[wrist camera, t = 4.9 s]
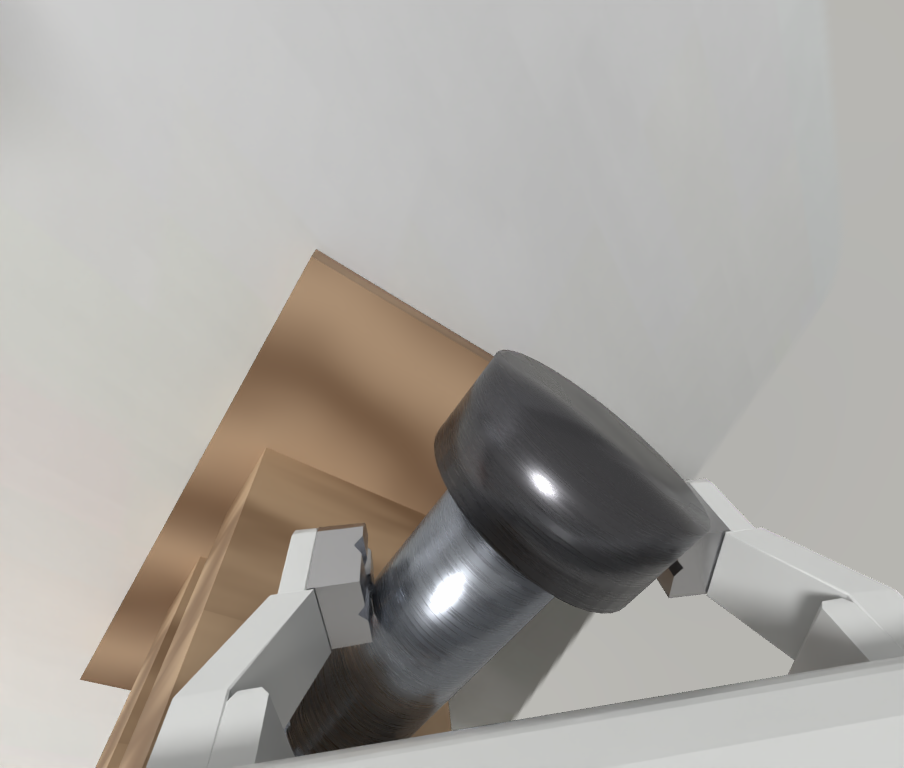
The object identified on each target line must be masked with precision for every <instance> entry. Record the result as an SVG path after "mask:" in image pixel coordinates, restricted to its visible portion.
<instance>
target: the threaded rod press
mask: <svg viewBox="0 0 904 768" xmlns="http://www.w3.org/2000/svg"><path fill="white" fill-rule="evenodd" d="M493 357H494V356H492V355H491V354H489V353H487V352H486V351H484V350H482V349H481V348H479V347H477V346H476V345H474V344H472V343H471V342H469V341H467V340H466V339H464V338H462V337H461V336H459V335H457V334H456V333H454V332H453V331H451V330H449V329H448V328H446V327H444V326H443V325H441V324H439V323H438V322H436V321H434V320H433V319H431V318H429V317H428V316H426V315H424V314H423V313H421V312H419V311H418V310H416V309H414V308H413V307H411V306H409V305H408V304H406V303H404V302H403V301H401V300H399V299H398V298H396V297H394V296H393V295H391V294H389V293H388V292H386V291H385V290H383V289H381V288H380V287H378V286H376V285H375V284H373V283H371V282H370V281H368V280H366V279H365V278H363V277H361V276H360V275H358V274H356V273H355V272H353V271H351V270H350V269H348V268H346V267H345V266H343V265H341V264H340V263H338V262H336V261H335V260H333V259H331V258H330V257H328V256H326V255H325V254H323V253H321V252H320V251H318V250H315V252H314V253H313V255H312V257H311V258H310V260H309V262H308V264H307V266H306V268H305V269H304V271H303V273H302V275H301V277H300V279H299V280H298V282H297V284H296V286H295V288H294V290H293V291H292V293H291V295H290V297H289V299H288V300H287V302H286V304H285V306H284V308H283V310H282V311H281V313H280V315H279V317H278V319H277V321H276V322H275V324H274V326H273V328H272V330H271V332H270V333H269V335H268V337H267V339H266V341H265V342H264V344H263V346H262V348H261V350H260V352H259V353H258V355H257V357H256V359H255V361H254V363H253V364H252V366H251V368H250V370H249V372H248V374H247V375H246V377H245V379H244V381H243V383H242V385H241V386H240V388H239V390H238V392H237V394H236V395H235V397H234V399H233V401H232V403H231V405H230V406H229V408H228V410H227V412H226V414H225V416H224V417H223V419H222V421H221V423H220V425H219V427H218V428H217V430H216V432H215V434H214V436H213V437H212V439H211V441H210V443H209V445H208V447H207V448H206V450H205V452H204V454H203V456H202V458H201V459H200V461H199V463H198V465H197V467H196V469H195V470H194V472H193V474H192V476H191V478H190V479H189V481H188V483H187V485H186V487H185V489H184V490H183V492H182V494H181V496H180V498H179V500H178V501H177V503H176V505H175V507H174V509H173V511H172V512H171V514H170V516H169V518H168V520H167V522H166V523H165V525H164V527H163V529H162V531H161V532H160V534H159V536H158V538H157V540H156V542H155V543H154V545H153V547H152V549H151V551H150V553H149V554H148V556H147V558H146V560H145V562H144V564H143V565H142V567H141V569H140V571H139V573H138V574H137V576H136V578H135V580H134V582H133V584H132V585H131V587H130V589H129V591H128V593H127V595H126V596H125V598H124V600H123V602H122V604H121V606H120V607H119V609H118V611H117V613H116V615H115V616H114V618H113V620H112V622H111V624H110V626H109V627H108V629H107V631H106V633H105V635H104V637H103V638H102V640H101V642H100V644H99V646H98V648H97V649H96V651H95V653H94V655H93V657H92V659H91V660H90V662H89V664H88V666H87V668H86V669H85V671H84V673H83V675H82V677H81V679H80V680H84V681H89V682H94V683H99V684H103V685H108V686H113V687H118V688H122V689H127V690H131V692H130V694H129V696H128V698H127V700H126V703H125V705H124V707H123V709H122V711H121V713H120V716H119V718H118V720H117V722H116V724H115V726H114V729H113V731H112V733H111V735H110V737H109V739H108V742H107V744H106V746H105V748H104V750H103V752H102V755H101V757H100V759H99V761H98V763H97V765H96V768H146V766H147V763H148V761H149V758H150V756H151V753H152V750H153V748H154V745H155V743H156V740H157V737H158V735H159V732H160V730H161V727H162V725H163V722H164V719H165V717H166V714H167V712H168V709H169V706H170V704H171V701H172V699H173V697H174V696H175V695H176V694H177V693H178V692H179V691H180V690H181V689H182V688H183V687H184V686H185V685H186V684H187V683H188V682H189V680H190V679H191V678H192V677H193V676H194V675H195V674H196V673H197V672H198V671H199V670H200V669H201V668H202V667H203V666H204V665H205V664H206V662H207V661H208V660H209V659H210V658H211V657H212V656H213V655H214V654H215V653H216V652H217V651H218V650H219V649H220V648H221V647H222V646H223V645H224V643H225V642H226V641H227V640H228V639H229V638H230V637H231V636H232V635H233V634H234V633H235V632H236V631H237V630H238V629H239V628H240V627H241V625H242V624H243V623H244V622H245V621H246V620H247V619H248V618H249V617H250V616H251V615H252V614H253V613H254V612H255V611H256V610H257V609H258V607H259V606H260V605H261V604H262V603H263V602H264V601H265V600H266V599H267V598H268V597H269V596H270V595H274V594H278V590H279V586H280V582H281V577H282V573H283V569H284V565H285V561H286V557H287V553H288V549H289V545H290V540H291V536H292V535H293V533H294V532H295V530H302V529H312V528H319V527H326V526H336V525H345V524H355V523H365V524H366V527H367V532H368V548H369V549H370V550H371V553H372V558H373V567H374V579H375V578H376V577H377V575H378V574H379V573H380V572H381V571H382V569H383V568H384V567H385V566H386V564H387V563H388V562H389V561H390V559H391V558H392V557H393V556H394V554H395V553H396V552H397V551H398V550H399V548H400V547H401V546H402V545H403V543H404V542H405V541H406V540H407V538H408V537H409V536H410V535H411V533H412V532H413V531H414V530H415V528H416V527H417V526H418V525H419V524H420V522H421V521H422V520H423V519H424V517H425V516H426V515H427V514H428V512H429V511H430V510H431V509H432V507H433V506H434V505H435V504H436V503H437V501H438V500H439V499H440V498H441V496H442V495H443V494H444V493H445V491H446V490H447V488H446V486H445V484H444V482H443V480H442V478H441V475H440V472H439V470H438V467H437V464H436V459H435V455H434V440H435V436H436V434H437V432H438V430H439V429H440V427H441V426H442V425H443V423H444V422H445V421H446V419H447V418H448V417H449V416H450V414H451V413H452V412H453V410H454V409H455V408H456V406H457V405H458V404H459V402H460V401H461V400H462V398H463V397H464V396H465V394H466V393H467V392H468V390H469V389H470V388H471V386H472V385H473V384H474V382H475V381H476V380H477V378H478V377H479V376H480V374H481V373H482V372H483V371H484V369H485V368H486V367H487V365H488V364H489V363H490V361H491V360H492V359H493ZM448 731H451V722H450V712H449V703H448V701H447V702H446V703H445V704H444V705H443V706H442V707H441V708H440V709H439V710H438V711H437V712H436V713H435V714H434V715H433V716H432V717H431V718H430V719H429V720H428V721H427V722H426V723H425V724H424V725H422V726H421V727H420V728H419V729H418V730H417V731H416V732H415V733H414V734H413V735H412V736H411V737H410V738H412V737H418V736H424V735H430V734H436V733H442V732H448Z"/></svg>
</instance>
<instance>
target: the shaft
mask: <svg viewBox="0 0 904 768" xmlns="http://www.w3.org/2000/svg"><path fill="white" fill-rule="evenodd" d="M434 455H435V459H436V464H437V467H438V470H439V472H440V475H441V478H442V480H443V482H444V484H445V486H446V488H447V490H446V491H445V493H444V494H443V495H442V496H441V498H440V499H439V500H438V501H437V503H436V504H435V505H434V506H433V507H432V509H431V510H430V511H429V512H428V514H427V515H426V516H425V517H424V519H423V520H422V521H421V522H420V524H419V525H418V526H417V527H416V528H415V530H414V531H413V532H412V533H411V535H410V536H409V537H408V538H407V540H406V541H405V542H404V543H403V545H402V546H401V547H400V548H399V550H398V551H397V552H396V553H395V554H394V556H393V557H392V558H391V559H390V561H389V562H388V563H387V564H386V566H385V567H384V568H383V569H382V571H381V572H380V573H379V574H378V575H377V577H376V578H375V579H374V593H373V595H372V598H371V602H372V607H373V612H374V616H373V642H370V643H364V644H359V645H353V646H348V647H342V648H336V649H331V654H330V655H329V657H328V658H327V660H326V662H325V663H324V665H323V667H322V668H321V670H320V671H319V673H318V675H317V676H316V678H315V680H314V681H313V683H312V684H311V686H310V688H309V689H308V691H307V693H306V694H305V696H304V698H303V699H302V701H301V702H300V704H299V706H298V707H297V709H296V711H295V712H294V714H293V715H292V717H291V719H290V720H289V722H288V724H287V725H286V727H285V728H284V732H285V734H286V737H287V739H288V741H289V744H290V746H291V749H292V751H293V754H294V756H295V757H297V756H303V755H309V754H315V753H322V752H328V751H334V750H340V749H346V748H352V747H358V746H364V745H370V744H376V743H382V742H388V741H394V740H400V739H406V738H410V737H411V736H412V735H413V734H414V733H415V732H416V731H417V730H418V729H419V728H420V727H421V726H422V725H424V724H425V723H426V722H427V721H428V720H429V719H430V718H431V717H432V716H433V715H434V714H435V713H436V712H437V711H438V710H439V709H440V708H441V707H442V706H443V705H444V704H445V703H446V702H447V701H448V700H449V699H450V698H451V697H452V696H453V695H454V694H455V693H456V692H457V691H458V690H459V689H460V688H461V687H462V686H463V685H465V684H466V683H467V682H468V681H469V680H470V679H471V678H472V677H473V676H474V675H475V674H476V673H477V672H478V671H479V670H480V669H481V668H482V667H483V666H484V665H485V664H486V663H487V662H488V661H489V660H490V659H491V658H492V657H493V656H494V655H495V654H496V653H497V652H498V651H499V650H500V649H501V648H502V647H503V646H504V645H506V644H507V643H508V642H509V641H510V640H511V639H512V638H513V637H514V636H515V635H516V634H517V633H518V632H519V631H520V630H521V629H522V628H523V627H524V626H525V625H526V624H527V623H528V622H529V621H530V620H531V619H532V618H533V617H534V616H535V615H536V614H537V613H538V612H539V611H540V610H541V609H542V608H543V607H544V606H545V605H547V604H548V603H549V602H550V601H551V600H552V599H553V598H554V597H556V598H558V599H560V600H562V601H564V602H566V603H568V604H571V605H573V606H575V607H578V608H581V609H584V610H587V611H590V612H596V613H613V612H616V611H619V610H621V609H622V608H624V607H625V606H626V605H627V604H628V603H630V601H632V600H633V599H634V598H635V597H636V596H637V595H638V594H640V593H641V592H642V591H643V590H644V589H645V588H646V587H647V586H648V585H650V584H651V583H652V582H653V581H654V580H655V579H656V578H657V577H659V576H660V575H661V574H662V573H663V572H664V571H665V570H666V569H667V568H669V567H670V566H671V565H672V564H673V563H674V562H675V561H676V560H677V559H679V558H680V557H681V556H682V555H683V554H684V553H685V552H686V551H688V550H689V549H690V548H691V547H692V546H693V545H694V544H695V543H696V542H698V541H699V540H700V539H701V538H702V537H703V536H704V535H705V534H707V533H708V532H709V530H710V527H711V526H710V520H709V518H708V515H707V513H706V511H705V509H704V507H703V506H702V504H701V503H700V501H699V500H698V498H697V497H696V495H695V494H694V493H693V491H692V490H691V489H690V488H689V486H688V485H687V484H686V483H685V482H684V480H683V479H682V478H681V477H680V476H679V475H678V474H677V472H676V471H675V470H674V469H673V468H672V467H671V466H670V465H669V464H668V463H667V462H666V461H665V460H664V459H663V458H662V457H661V456H660V455H659V454H658V453H657V452H656V451H655V450H654V449H653V448H652V447H651V446H650V445H649V444H648V443H647V442H646V441H645V440H644V439H643V438H642V437H641V436H639V435H638V434H637V433H636V432H635V431H634V430H633V429H632V428H630V427H629V426H628V425H627V424H626V423H625V422H623V421H622V420H621V419H620V418H619V417H618V416H616V415H615V414H614V413H613V412H611V411H610V410H609V409H608V408H606V407H605V406H604V405H603V404H601V403H600V402H599V401H597V400H596V399H595V398H594V397H592V396H591V395H590V394H588V393H587V392H585V391H584V390H583V389H581V388H580V387H578V386H577V385H576V384H574V383H573V382H571V381H570V380H568V379H567V378H565V377H564V376H562V375H560V374H559V373H557V372H556V371H554V370H552V369H551V368H549V367H547V366H545V365H544V364H542V363H540V362H538V361H536V360H534V359H532V358H530V357H528V356H525V355H523V354H521V353H518V352H515V351H510V350H501V351H498V352H497V353H496V355H495V356H494V357H493V359H492V360H491V361H490V363H489V364H488V365H487V367H486V368H485V369H484V371H483V372H482V373H481V374H480V376H479V377H478V378H477V380H476V381H475V382H474V384H473V385H472V386H471V388H470V389H469V390H468V392H467V393H466V394H465V396H464V397H463V398H462V400H461V401H460V402H459V404H458V405H457V406H456V408H455V409H454V410H453V412H452V413H451V414H450V416H449V417H448V418H447V419H446V421H445V422H444V423H443V425H442V426H441V427H440V429H439V430H438V432H437V434H436V436H435V440H434Z"/></svg>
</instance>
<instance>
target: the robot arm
mask: <svg viewBox="0 0 904 768" xmlns="http://www.w3.org/2000/svg"><path fill="white" fill-rule="evenodd" d="M684 482H685V483H686V484H687V485H688V486H689V488H690V489H691V490H692V491H693V493H694V494H695V495H696V497H697V498H698V500H699V501H700V503H701V504H702V506H703V507H704V509H705V511H706V513H707V515H708V518H709V520H710V526H711V527H710V530H709V532H708V533H707V534H705V535H704V536H703V537H702V538H701V539H700V540H699V541H698V542H696V543H695V544H694V545H693V546H692V547H691V548H690V549H689V550H688V551H686V552H685V553H684V554H683V555H682V556H681V557H680V558H679V559H677V560H676V561H675V562H674V563H673V564H672V565H671V566H670V567H669V568H667V569H666V570H665V571H664V572H663V573H662V574H661V575H660V576H659V577H657V580H658V581H659V583H660V584H661V586H662V588H663V589H664V591H665V593H666V594H667V596H668V597H669V598H673V597H682V596H690V595H698V594H707V596H708V597H709V598H711V599H712V600H713V601H715V602H716V603H718V604H719V605H720V606H722V607H723V608H724V609H726V610H727V611H728V612H730V613H731V614H733V615H734V616H735V617H736V618H738V619H739V620H741V621H742V622H743V623H745V624H746V625H747V626H749V627H750V628H751V629H753V630H754V631H756V632H757V633H758V634H760V635H761V636H762V637H764V638H765V639H766V640H768V641H770V643H772V644H773V645H775V646H776V647H777V648H779V649H780V650H781V651H783V652H784V653H785V654H787V655H788V656H790V657H791V658H792V659H794V660H795V661H794V663H793V665H792V667H791V669H790V671H789V673H788V675H784V676H778V677H772V678H766V679H760V680H754V681H749V682H742V683H736V684H730V685H724V686H719V687H712V688H706V689H700V690H694V691H688V692H682V693H677V694H670V695H664V696H658V697H653V698H647V699H640V700H634V701H628V702H622V703H617V704H610V705H604V706H598V707H592V708H586V709H580V710H574V711H568V712H562V713H556V714H550V715H545V716H539V717H533V718H526V719H521V720H514V721H508V722H502V723H496V724H490V725H484V726H478V727H472V728H466V729H460V730H454V731H448V732H442V733H436V734H430V735H424V736H418V737H412V738H406V739H400V740H394V741H388V742H382V743H376V744H370V745H364V746H358V747H352V748H346V749H340V750H334V751H328V752H322V753H315V754H309V755H303V756H297V757H295V756H294V754H293V751H292V749H291V746H290V744H289V741H288V739H287V737H286V734H285V732H284V728H285V727H286V725H287V724H288V722H289V720H290V719H291V717H292V715H293V714H294V712H295V711H296V709H297V707H298V706H299V704H300V702H301V701H302V699H303V698H304V696H305V694H306V693H307V691H308V689H309V688H310V686H311V684H312V683H313V681H314V680H315V678H316V676H317V675H318V673H319V671H320V670H321V668H322V667H323V665H324V663H325V662H326V660H327V658H328V657H329V655H330V654H331V649H336V648H342V647H348V646H353V645H359V644H364V643H370V642H373V616H374V612H373V607H372V602H371V598H372V595H373V593H374V567H373V558H372V553H371V550H370V549H369V548H368V532H367V527H366V524H365V523H355V524H345V525H336V526H326V527H319V528H312V529H302V530H295V532H294V533H293V535H292V536H291V540H290V545H289V549H288V553H287V557H286V561H285V565H284V569H283V573H282V577H281V582H280V586H279V590H278V594H274V595H270V596H269V597H268V598H267V599H266V600H265V601H264V602H263V603H262V604H261V605H260V606H259V607H258V609H257V610H256V611H255V612H254V613H253V614H252V615H251V616H250V617H249V618H248V619H247V620H246V621H245V622H244V623H243V624H242V625H241V627H240V628H239V629H238V630H237V631H236V632H235V633H234V634H233V635H232V636H231V637H230V638H229V639H228V640H227V641H226V642H225V643H224V645H223V646H222V647H221V648H220V649H219V650H218V651H217V652H216V653H215V654H214V655H213V656H212V657H211V658H210V659H209V660H208V661H207V662H206V664H205V665H204V666H203V667H202V668H201V669H200V670H199V671H198V672H197V673H196V674H195V675H194V676H193V677H192V678H191V679H190V680H189V682H188V683H187V684H186V685H185V686H184V687H183V688H182V689H181V690H180V691H179V692H178V693H177V694H176V695H175V696H174V697H173V699H172V701H171V704H170V706H169V709H168V712H167V714H166V717H165V719H164V722H163V725H162V727H161V730H160V732H159V735H158V737H157V740H156V743H155V745H154V748H153V750H152V753H151V756H150V758H149V761H148V763H147V766H146V768H904V597H903V596H902V595H901V594H899V593H898V592H897V591H896V590H895V589H893V588H891V587H889V586H887V585H885V584H883V583H881V582H879V581H876V580H874V579H872V578H870V577H868V576H866V575H864V574H861V573H859V572H857V571H855V570H853V569H851V568H848V567H846V566H844V565H842V564H840V563H838V562H836V561H834V560H831V559H829V558H827V557H825V556H823V555H821V554H819V553H816V552H814V551H812V550H810V549H808V548H806V547H804V546H802V545H799V544H797V543H795V542H793V541H791V540H789V539H787V538H784V537H782V536H780V535H778V534H776V533H773V532H771V531H769V530H767V529H765V528H763V527H760V528H755V527H754V526H753V525H752V524H751V523H750V521H749V520H748V519H747V518H746V517H745V516H744V515H743V514H742V513H741V512H740V511H739V510H738V509H737V508H736V507H735V506H734V505H733V504H732V503H731V502H730V500H728V499H727V497H726V496H725V495H724V494H723V493H722V492H721V491H720V490H719V489H718V488H717V487H716V486H715V485H714V484H713V483H712V482H711V481H710V480H708V479H706V478H700V479H693V480H686V481H684Z"/></svg>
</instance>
